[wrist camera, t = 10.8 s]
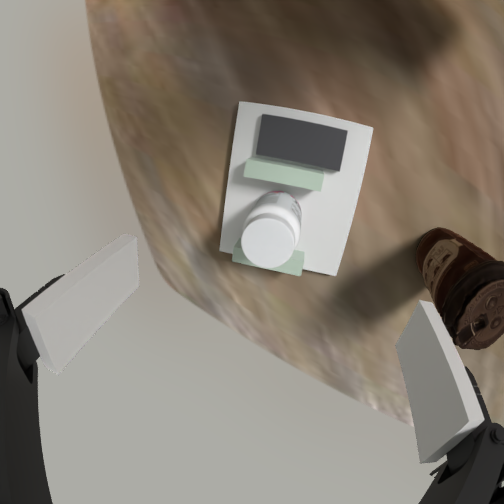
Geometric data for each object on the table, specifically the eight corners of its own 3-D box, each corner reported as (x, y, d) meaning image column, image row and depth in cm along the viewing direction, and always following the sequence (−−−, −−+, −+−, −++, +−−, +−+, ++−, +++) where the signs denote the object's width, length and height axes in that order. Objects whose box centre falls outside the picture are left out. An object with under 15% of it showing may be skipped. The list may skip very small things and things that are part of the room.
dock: (241, 102, 26) (233, 98, 22) (371, 127, 24) (379, 127, 21) (221, 247, 32) (212, 260, 29) (335, 271, 31) (337, 287, 28)
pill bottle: (248, 225, 30) (227, 259, 22) (263, 182, 28) (246, 202, 20) (291, 242, 30) (285, 282, 22) (309, 200, 27) (310, 227, 20)
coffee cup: (397, 284, 30) (432, 361, 18) (409, 215, 27) (465, 270, 15) (457, 285, 29) (503, 352, 17) (472, 221, 25) (537, 272, 14)
